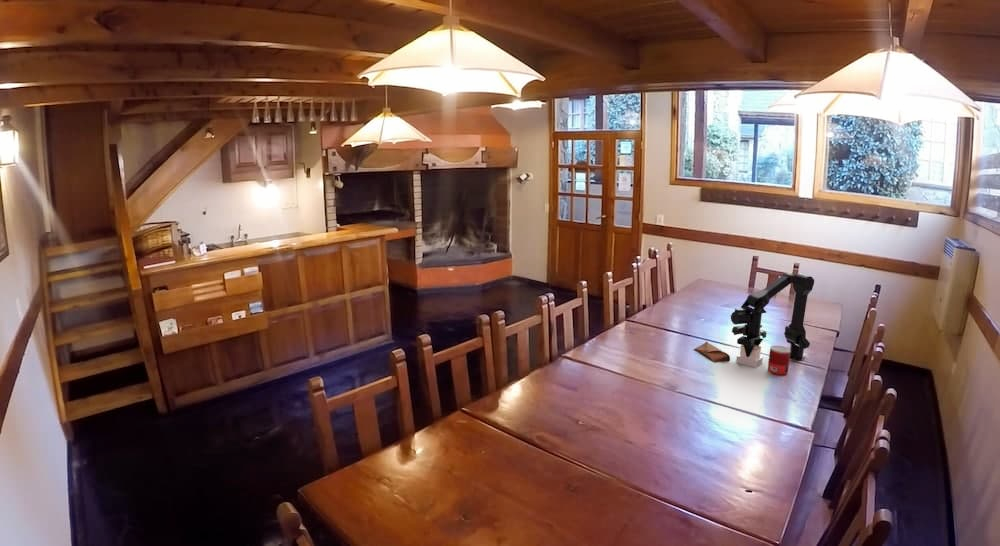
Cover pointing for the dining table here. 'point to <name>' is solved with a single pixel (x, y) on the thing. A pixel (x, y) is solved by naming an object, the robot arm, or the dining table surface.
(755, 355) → the cream box
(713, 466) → the dining table surface
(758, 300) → the robot arm
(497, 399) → the dining table surface
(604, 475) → the dining table surface
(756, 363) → the pale pink chamfered block
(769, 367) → the canned food
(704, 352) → the sunglasses case
